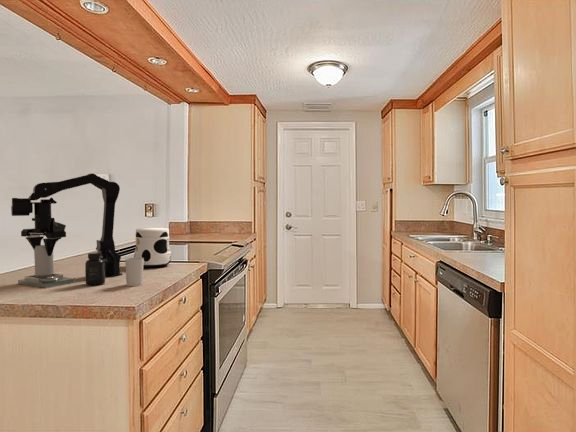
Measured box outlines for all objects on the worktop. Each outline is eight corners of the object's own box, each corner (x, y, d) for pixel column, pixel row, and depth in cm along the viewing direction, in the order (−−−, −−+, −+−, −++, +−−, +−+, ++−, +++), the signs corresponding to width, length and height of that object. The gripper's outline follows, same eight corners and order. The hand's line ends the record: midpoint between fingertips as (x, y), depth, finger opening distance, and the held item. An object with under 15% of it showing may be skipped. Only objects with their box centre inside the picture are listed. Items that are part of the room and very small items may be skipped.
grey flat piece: (74, 282, 167) (74, 274, 167) (46, 288, 156) (46, 279, 156) (47, 278, 174) (47, 271, 174) (18, 284, 163) (18, 276, 163)
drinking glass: (125, 283, 165) (124, 257, 165) (143, 282, 167) (143, 257, 167) (125, 287, 159) (125, 260, 158) (144, 285, 161) (144, 259, 161)
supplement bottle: (109, 283, 166) (108, 252, 165) (95, 286, 159) (95, 254, 159) (94, 281, 168) (94, 251, 167) (81, 285, 161) (80, 253, 161)
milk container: (128, 265, 208) (127, 228, 207) (161, 262, 219) (161, 227, 219) (143, 270, 195) (142, 231, 194) (177, 266, 207) (177, 229, 206)
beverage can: (47, 277, 164) (47, 246, 163) (31, 277, 164) (30, 246, 163) (57, 274, 170) (56, 244, 170) (41, 274, 170) (40, 244, 170)
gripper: (77, 215, 169) (78, 254, 170) (46, 214, 177) (47, 251, 178) (51, 216, 159) (52, 257, 160) (19, 215, 167) (20, 254, 168)
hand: (44, 255), depth 167 cm, fingers closed on beverage can, 6 cm apart
